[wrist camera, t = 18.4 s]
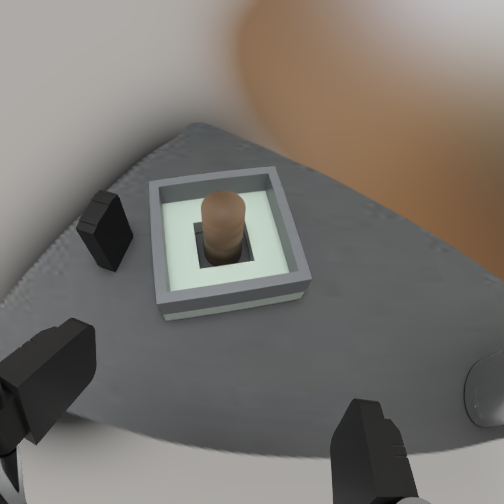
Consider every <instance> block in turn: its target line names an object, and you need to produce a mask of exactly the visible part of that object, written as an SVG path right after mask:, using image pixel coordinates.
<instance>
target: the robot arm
mask: <svg viewBox="0 0 504 504" xmlns="http://www.w3.org/2000/svg"><path fill="white" fill-rule="evenodd" d="M95 371H96V344H95V329H94V327H93V326H92V325H89V324H87V323H84V322H82V321H80V320H77V319H75V318H70V319H68V320H67V321H66V322H64V323H63V324H62V325H60V326H59V327H58V328H57V327H52V328H49V329H46V330H43V331H41V332H39V333H38V334H36V335H35V336H34V337H32V338H31V339H30V341H27V342H26V343H25V344H23V345H22V347H21V348H20V347H19V348H18V349H17V350H15V351H14V352H13V353H11V354H10V355H9V356H8V357H6V358H5V359H4V360H2V361H1V362H0V504H27V503H26V499H25V493H24V485H23V475H22V463H21V448H20V444H19V443H20V442H21V440H22V439H23V438H26V439H27V440H29V441H30V442H32V443H33V444H35V445H37V444H38V443H39V442H40V440H41V439H42V438H43V437H44V436H45V435H46V433H47V432H48V431H49V430H50V428H51V427H52V426H53V425H54V424H55V423H56V422H57V420H58V419H59V418H60V417H61V416H62V414H63V413H64V412H65V411H66V410H67V409H68V407H69V406H70V405H71V404H72V403H73V402H74V401H75V399H76V398H77V397H78V396H79V395H80V394H81V392H82V391H83V390H84V389H85V388H86V387H87V386H88V384H89V383H90V382H91V381H92V379H93V377H94V374H95ZM465 404H466V409H467V412H468V414H469V416H470V418H471V419H472V421H473V422H474V423H475V424H477V425H478V426H481V427H491V426H499V425H504V350H502V351H499V352H497V353H495V354H492V355H490V356H487V357H485V358H483V359H481V360H479V361H478V362H477V363H476V364H474V366H473V367H472V369H471V370H470V372H469V375H468V377H467V381H466V385H465ZM403 445H404V443H403V440H402V437H401V434H400V431H399V430H398V428H397V427H396V426H395V425H394V423H393V422H392V421H391V420H390V419H384V416H383V412H382V409H381V405H380V403H379V402H377V401H370V400H363V399H353V400H352V402H351V403H350V405H349V407H348V409H347V410H346V412H345V414H344V416H343V418H342V420H341V421H340V423H339V425H338V427H337V428H336V430H335V432H334V434H333V437H332V441H331V446H330V455H331V470H332V486H333V504H431V503H429V502H428V501H426V500H424V499H421V498H419V496H418V493H417V489H416V485H415V482H414V478H413V474H412V471H411V468H410V464H409V460H408V458H406V457H407V453H406V450H405V447H403Z"/></svg>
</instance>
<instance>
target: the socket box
mask: <svg viewBox="0 0 504 504" xmlns="http://www.w3.org/2000/svg"><path fill="white" fill-rule="evenodd" d="M149 189H150V218H151V238H152V254H153V267H154V279H155V291H156V301H157V305H158V307H159V309H160V311H161V313H162V314H163V316H164V318H165V320H166V321H170V320H177V319H183V318H190V317H197V316H203V315H210V314H216V313H222V312H228V311H234V310H240V309H246V308H252V307H258V306H263V305H269V304H274V303H280V302H285V301H291V300H296V299H301V297H302V295H303V294H304V292H305V290H306V289H307V287H308V285H309V284H310V282H311V280H312V277H311V274H310V270H309V267H308V264H307V261H306V258H305V255H304V251H303V248H302V245H301V242H300V239H299V236H298V233H297V230H296V227H295V224H294V221H293V218H292V215H291V212H290V209H289V206H288V203H287V200H286V197H285V194H284V191H283V188H282V185H281V182H280V180H279V177H278V174H277V171H276V168H275V166H272V167H261V168H250V169H241V170H231V171H222V172H214V173H206V174H198V175H190V176H183V177H176V178H169V179H162V180H156V181H149ZM219 190H227V191H232V192H234V193H236V194H238V195H239V196H240V197H241V198H242V199H243V200H244V202H245V205H246V212H245V221H244V233H245V237H246V242H247V246H248V250H249V254H250V259H251V261H250V262H243V263H236V264H230V265H223V266H217V267H210V268H203V269H200V267H199V261H198V254H197V247H196V240H195V233H196V232H203V228H202V217H201V204H202V201H203V200H204V198H205V197H206V196H207V195H209V194H210V193H212V192H215V191H219Z"/></svg>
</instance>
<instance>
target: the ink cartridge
mask: <svg viewBox="0 0 504 504" xmlns="http://www.w3.org/2000/svg"><path fill="white" fill-rule="evenodd" d="M76 230H77V232H78V233H79V235H80V237H81V238H82V240H83V241H84V243H85V245H86V246H87V248H88V250H89V251H90V253H91V254H92V256H93V257H94V259H95V261H96V262H97V265H99V266H102V267H105V268H107V269H110V270H113V271H116V270H117V268H118V266H119V264H120V262H121V260H122V258H123V256H124V254H125V252H126V250H127V248H128V246H129V244H130V242H131V240H132V238H133V233H132V231H131V229H130V226H129V223H128V221H127V218H126V215H125V212H124V209H123V207H122V204H121V201H120V198H119V197H118V195H117V194H114V193H110V192H106V191H102V190H100V191H99V192H98V193H97V194H95V196H94V197H93V198H92V201H91V203H90V204H89V206H88V207H87V209H86V210H85V212H83V214H82V216H81V218H80V219H79V223H78V225H77V227H76Z"/></svg>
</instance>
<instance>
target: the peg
mask: <svg viewBox="0 0 504 504" xmlns="http://www.w3.org/2000/svg"><path fill="white" fill-rule="evenodd" d="M245 212H246V205H245V202H244V200H243V199H242V198H241V197H240V196H239V195H238V194H236V193H234V192H232V191H227V190H219V191H215V192H212V193H210V194H209V195H207V196H206V197H205V198H204V200H203V201H202V204H201V217H202V228H203V239H204V250H205V256H206V259H207V260H208V261H209V262H210V263H211V264H212V265H214V266H216V267H217V266H223V265H230V264H235V263H236V262H237V261H238V260H239V258H240V256H241V249H242V240H243V230H244V221H245Z"/></svg>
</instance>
